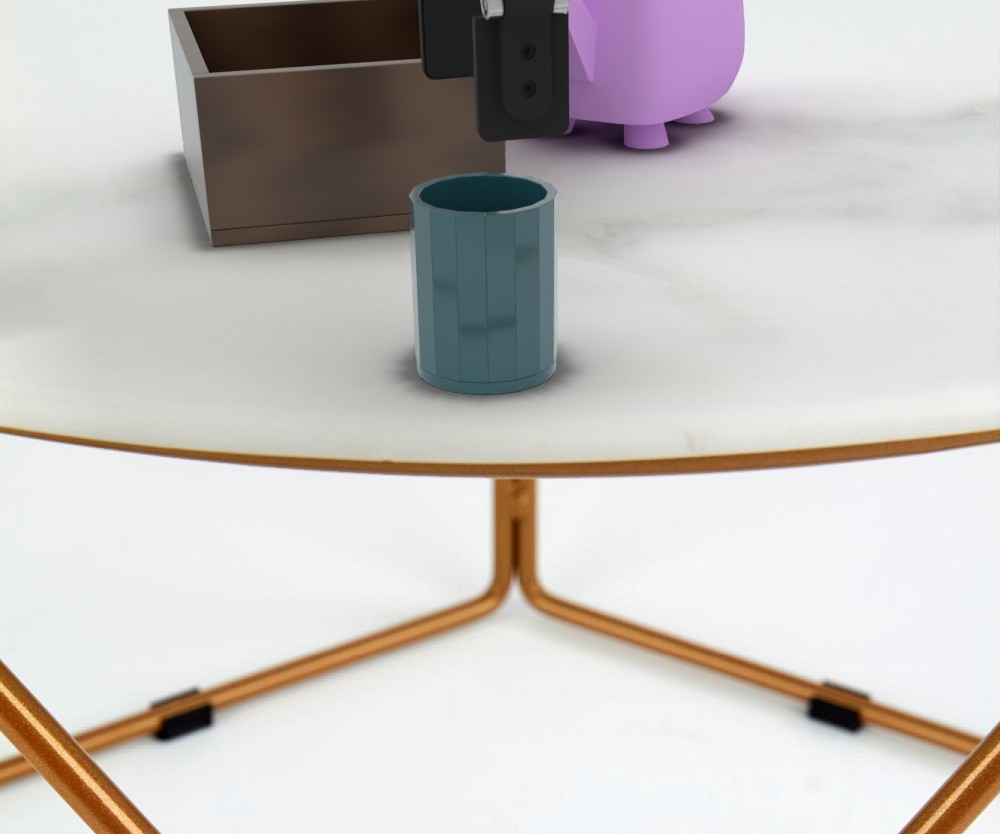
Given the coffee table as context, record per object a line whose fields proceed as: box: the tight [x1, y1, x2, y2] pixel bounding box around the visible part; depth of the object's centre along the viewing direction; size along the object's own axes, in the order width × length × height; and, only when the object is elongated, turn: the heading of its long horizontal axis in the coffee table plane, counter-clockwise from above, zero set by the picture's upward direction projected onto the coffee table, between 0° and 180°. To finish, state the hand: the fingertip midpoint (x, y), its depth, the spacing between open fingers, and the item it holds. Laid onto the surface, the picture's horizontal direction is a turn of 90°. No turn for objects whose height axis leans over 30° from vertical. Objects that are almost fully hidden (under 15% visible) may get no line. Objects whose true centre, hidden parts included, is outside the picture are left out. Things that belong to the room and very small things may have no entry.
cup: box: [408, 172, 559, 395], centre depth 67 cm, size 6×6×7 cm
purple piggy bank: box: [562, 0, 746, 150], centre depth 97 cm, size 20×12×13 cm, turn 150°
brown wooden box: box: [167, 0, 507, 248], centre depth 88 cm, size 15×17×8 cm
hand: (491, 104), depth 63 cm, fingers open, 9 cm apart
